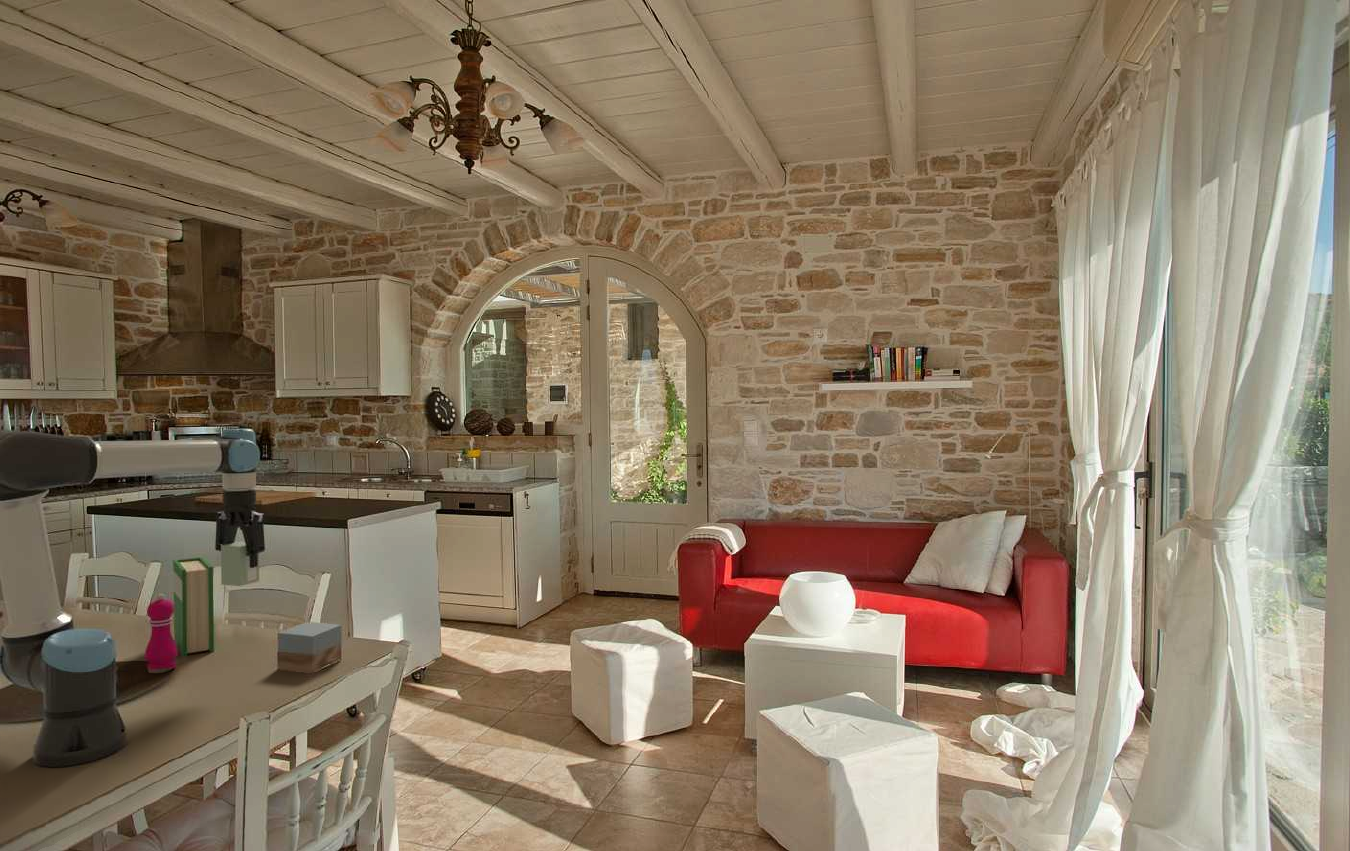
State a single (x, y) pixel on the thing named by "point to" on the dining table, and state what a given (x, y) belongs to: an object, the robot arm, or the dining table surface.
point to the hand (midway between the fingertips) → (240, 579)
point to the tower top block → (309, 638)
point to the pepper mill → (161, 635)
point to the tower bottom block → (308, 660)
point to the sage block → (235, 564)
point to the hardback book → (193, 605)
